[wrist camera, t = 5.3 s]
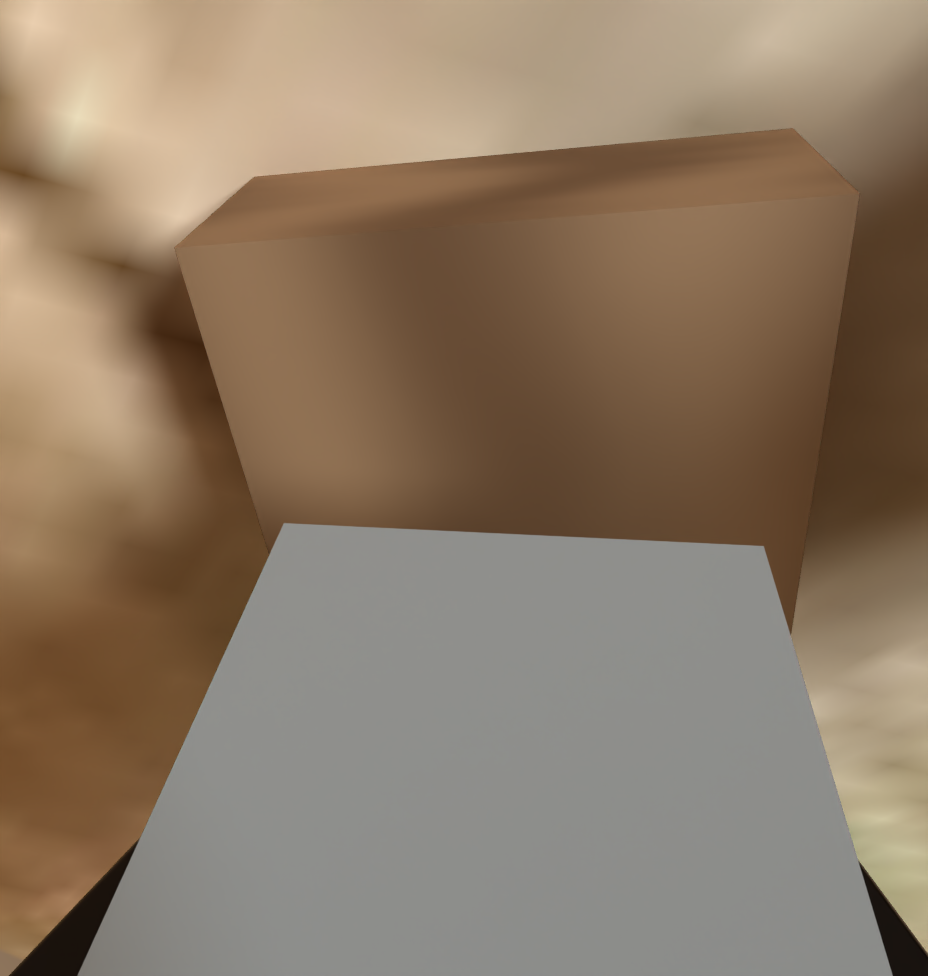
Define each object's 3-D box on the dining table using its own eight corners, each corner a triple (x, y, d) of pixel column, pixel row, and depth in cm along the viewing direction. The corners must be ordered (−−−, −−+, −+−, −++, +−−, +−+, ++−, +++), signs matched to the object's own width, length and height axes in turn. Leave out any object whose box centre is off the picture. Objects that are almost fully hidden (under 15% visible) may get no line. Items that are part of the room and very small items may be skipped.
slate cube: (763, 546, 8) (943, 1145, 4) (695, 831, 11) (765, 1352, 7) (284, 523, 9) (46, 1043, 5) (335, 802, 12) (212, 1276, 8)
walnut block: (788, 124, 14) (859, 193, 10) (743, 553, 19) (782, 691, 15) (259, 171, 15) (174, 247, 12) (352, 561, 20) (311, 690, 17)
